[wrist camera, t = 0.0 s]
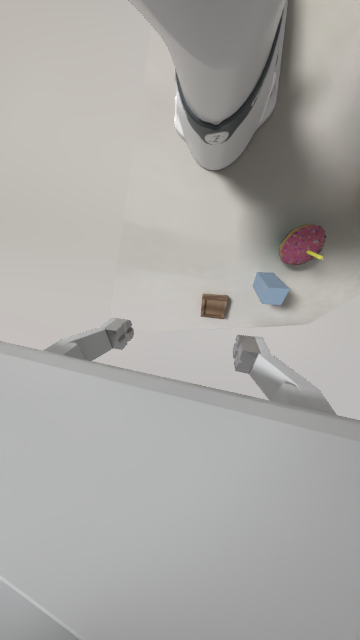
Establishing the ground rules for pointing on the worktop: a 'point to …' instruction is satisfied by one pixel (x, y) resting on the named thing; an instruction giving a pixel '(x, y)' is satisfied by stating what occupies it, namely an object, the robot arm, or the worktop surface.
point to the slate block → (270, 288)
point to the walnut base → (214, 306)
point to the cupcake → (302, 245)
